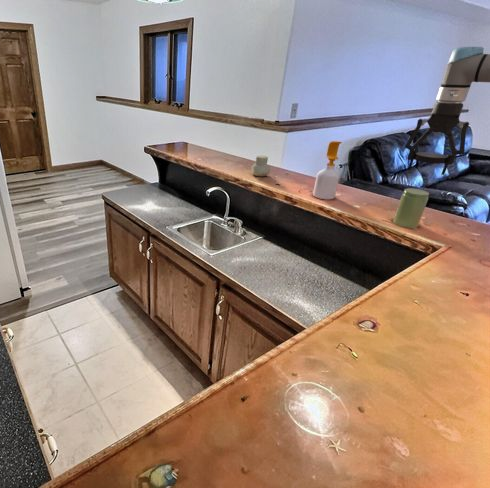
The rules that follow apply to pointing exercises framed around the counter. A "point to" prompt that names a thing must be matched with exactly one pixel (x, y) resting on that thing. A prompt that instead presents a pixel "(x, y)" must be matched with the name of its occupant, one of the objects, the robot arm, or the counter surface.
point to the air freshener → (260, 166)
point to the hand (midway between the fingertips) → (425, 171)
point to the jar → (411, 207)
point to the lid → (430, 157)
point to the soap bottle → (328, 175)
